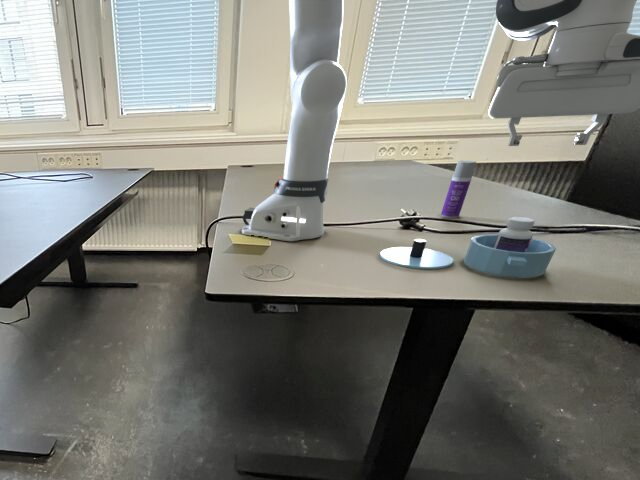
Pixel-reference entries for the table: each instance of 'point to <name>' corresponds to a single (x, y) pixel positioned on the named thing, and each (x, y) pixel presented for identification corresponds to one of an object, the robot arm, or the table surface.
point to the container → (458, 189)
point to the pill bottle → (515, 235)
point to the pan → (508, 258)
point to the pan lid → (416, 256)
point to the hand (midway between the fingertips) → (545, 145)
